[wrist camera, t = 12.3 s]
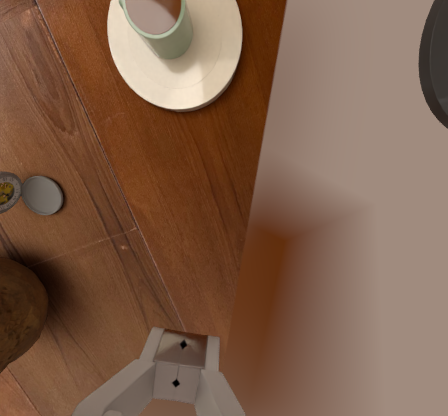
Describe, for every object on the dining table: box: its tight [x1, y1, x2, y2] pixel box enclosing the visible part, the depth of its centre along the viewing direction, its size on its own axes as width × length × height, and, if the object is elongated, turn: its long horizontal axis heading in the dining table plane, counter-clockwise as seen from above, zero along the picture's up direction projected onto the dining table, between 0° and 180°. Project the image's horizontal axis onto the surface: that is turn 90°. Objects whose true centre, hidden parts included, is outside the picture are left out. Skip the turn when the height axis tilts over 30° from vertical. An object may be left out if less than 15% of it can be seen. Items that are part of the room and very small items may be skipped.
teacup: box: [119, 0, 193, 59], centre depth 27 cm, size 8×7×6 cm
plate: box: [107, 0, 242, 112], centre depth 31 cm, size 18×18×2 cm
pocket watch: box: [0, 172, 63, 215], centre depth 33 cm, size 8×8×10 cm
